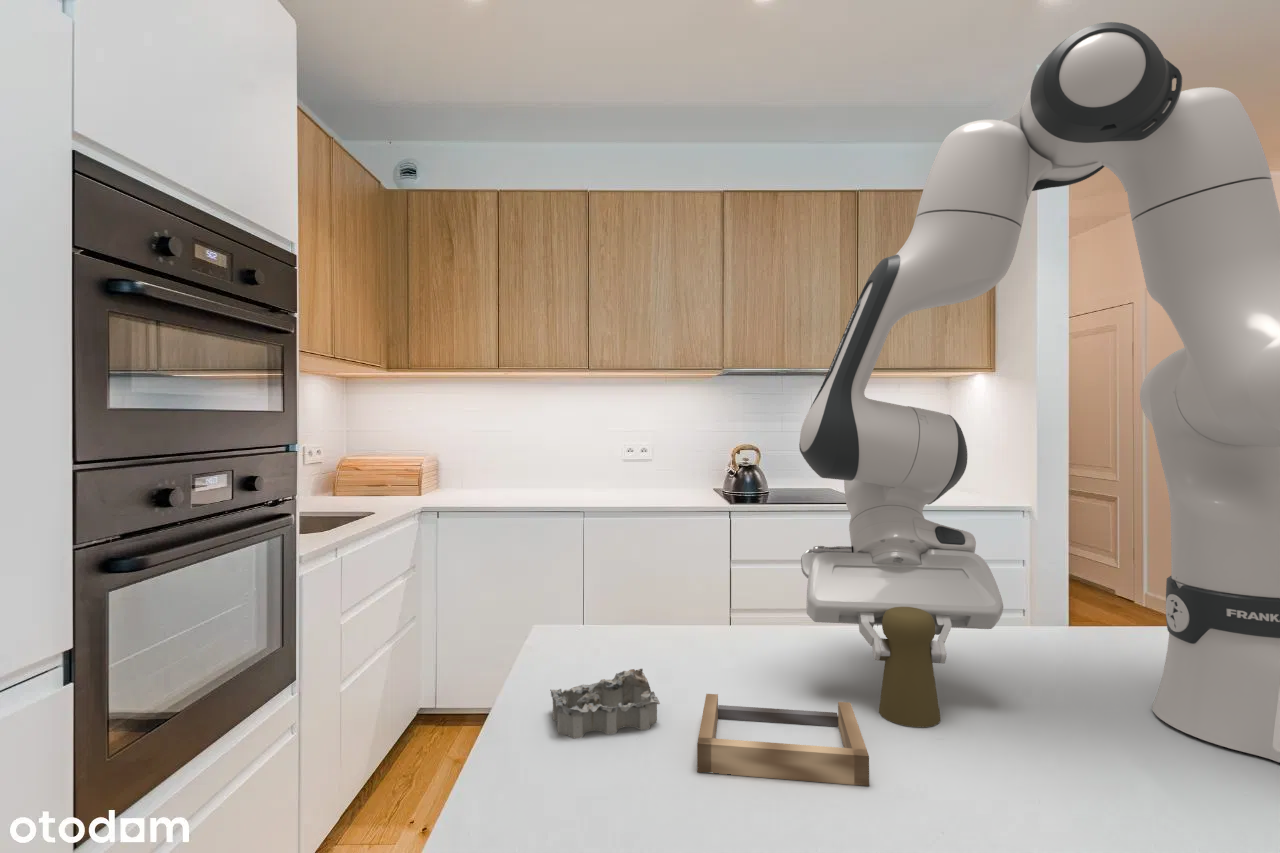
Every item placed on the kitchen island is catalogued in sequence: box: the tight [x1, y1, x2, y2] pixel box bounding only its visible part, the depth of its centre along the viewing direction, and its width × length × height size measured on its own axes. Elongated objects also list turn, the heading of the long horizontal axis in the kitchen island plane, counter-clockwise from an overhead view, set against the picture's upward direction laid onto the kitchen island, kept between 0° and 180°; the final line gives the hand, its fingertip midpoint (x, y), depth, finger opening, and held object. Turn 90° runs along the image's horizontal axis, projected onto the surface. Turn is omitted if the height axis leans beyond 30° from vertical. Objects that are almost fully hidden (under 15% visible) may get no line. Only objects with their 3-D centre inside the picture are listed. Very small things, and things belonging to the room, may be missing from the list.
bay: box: [696, 693, 870, 787], centre depth 64 cm, size 14×12×2 cm
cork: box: [878, 607, 942, 728], centre depth 71 cm, size 6×6×11 cm
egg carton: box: [550, 668, 661, 739], centre depth 70 cm, size 11×8×4 cm
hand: (910, 659), depth 70 cm, fingers closed on cork, 4 cm apart
